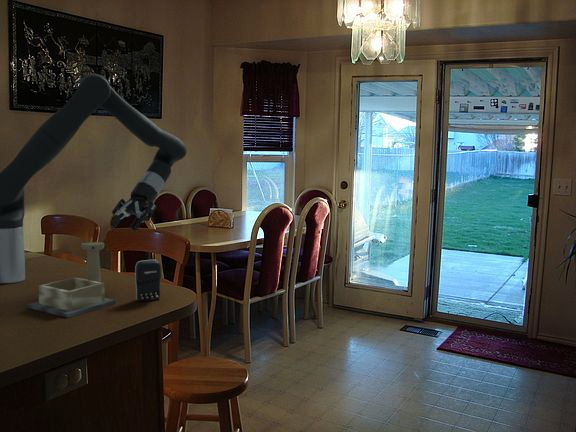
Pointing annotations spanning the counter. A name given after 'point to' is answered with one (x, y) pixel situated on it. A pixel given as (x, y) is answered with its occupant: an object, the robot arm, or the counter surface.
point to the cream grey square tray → (71, 297)
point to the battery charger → (147, 280)
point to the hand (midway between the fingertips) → (122, 228)
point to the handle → (93, 260)
